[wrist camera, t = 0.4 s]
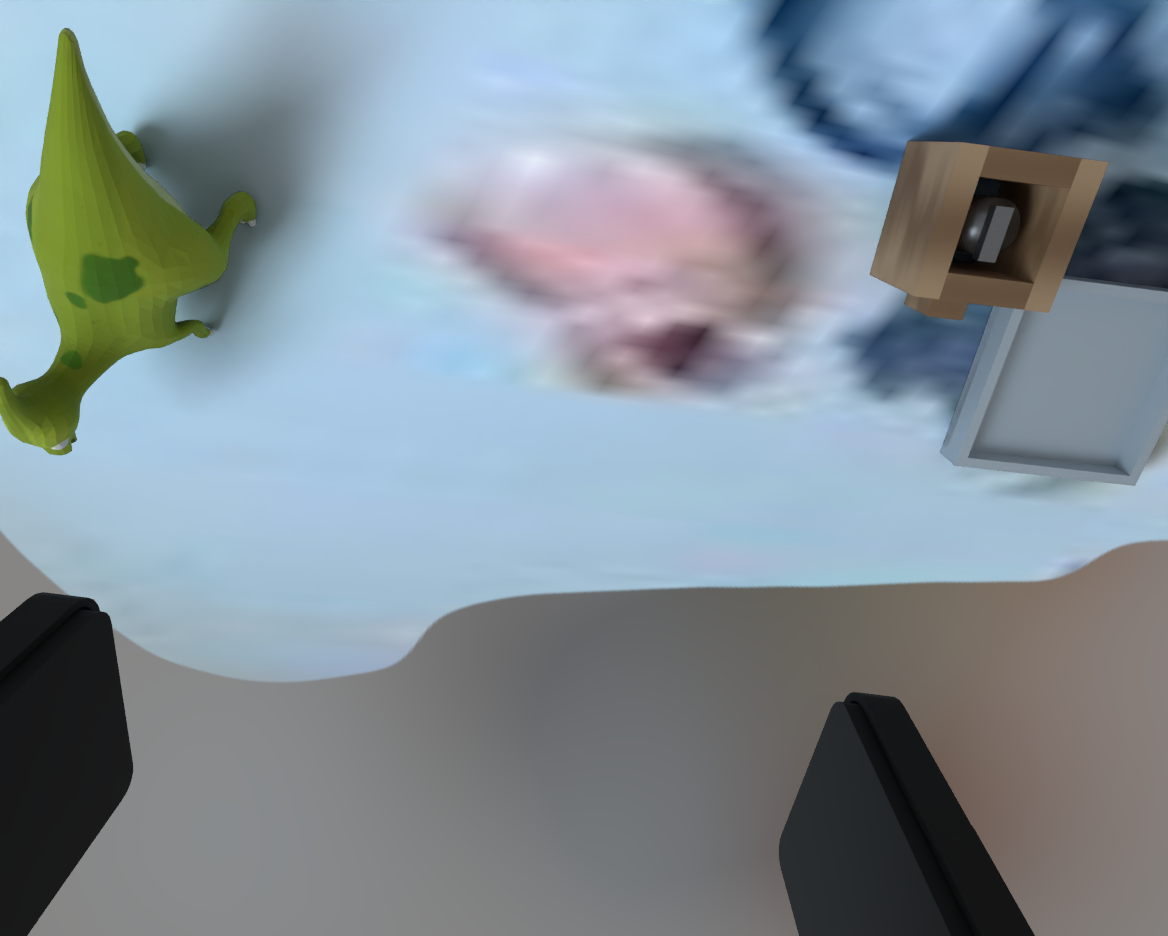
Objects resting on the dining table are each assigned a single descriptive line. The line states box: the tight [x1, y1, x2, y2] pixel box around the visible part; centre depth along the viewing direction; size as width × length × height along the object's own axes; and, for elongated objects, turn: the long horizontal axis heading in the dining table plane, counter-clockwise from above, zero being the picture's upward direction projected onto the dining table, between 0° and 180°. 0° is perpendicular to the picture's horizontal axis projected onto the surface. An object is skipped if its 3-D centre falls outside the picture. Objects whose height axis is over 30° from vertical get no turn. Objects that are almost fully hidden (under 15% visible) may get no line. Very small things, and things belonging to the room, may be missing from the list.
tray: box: [940, 275, 1168, 486], centre depth 42 cm, size 12×12×2 cm
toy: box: [0, 28, 256, 455], centre depth 33 cm, size 8×21×15 cm, turn 151°
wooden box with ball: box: [870, 141, 1109, 320], centre depth 37 cm, size 8×7×6 cm
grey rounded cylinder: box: [956, 194, 1020, 263], centre depth 37 cm, size 3×3×5 cm
